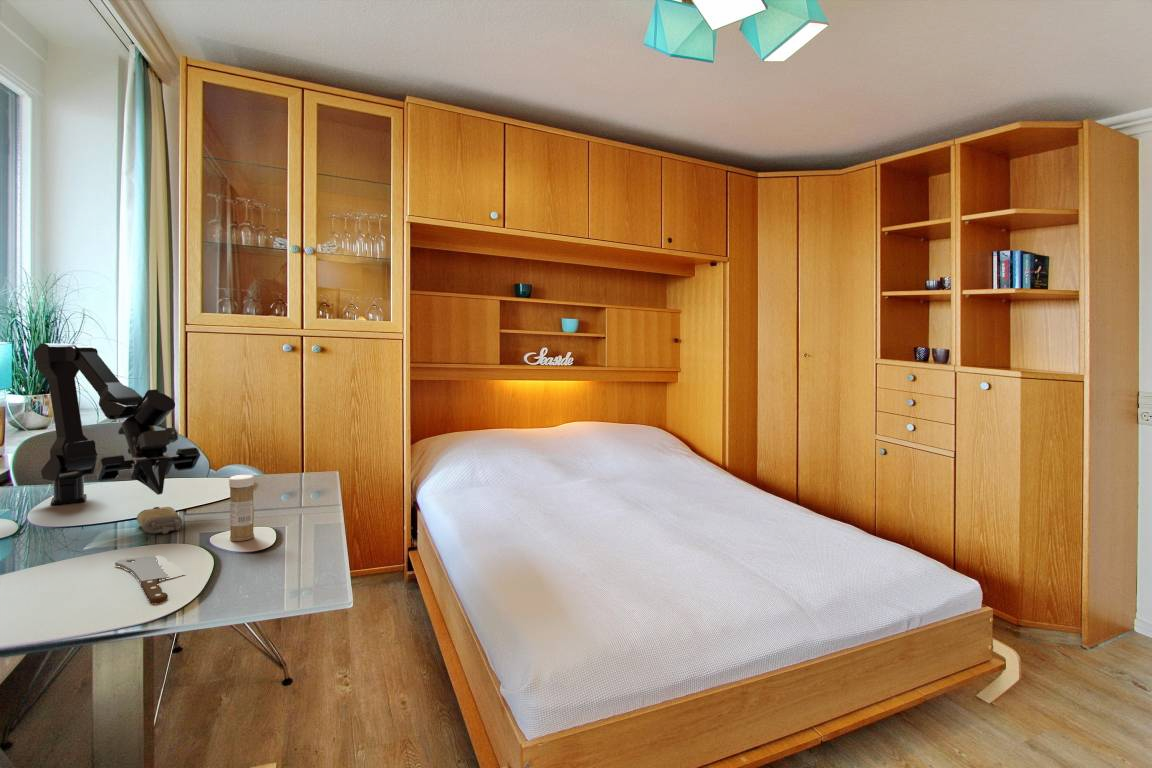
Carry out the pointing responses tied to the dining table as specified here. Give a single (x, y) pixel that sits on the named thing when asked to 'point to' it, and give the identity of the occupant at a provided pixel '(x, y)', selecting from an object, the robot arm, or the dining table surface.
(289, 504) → the dining table surface
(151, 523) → the beige handled case
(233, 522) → the sprinkles bottle
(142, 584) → the kitchen cleaver
